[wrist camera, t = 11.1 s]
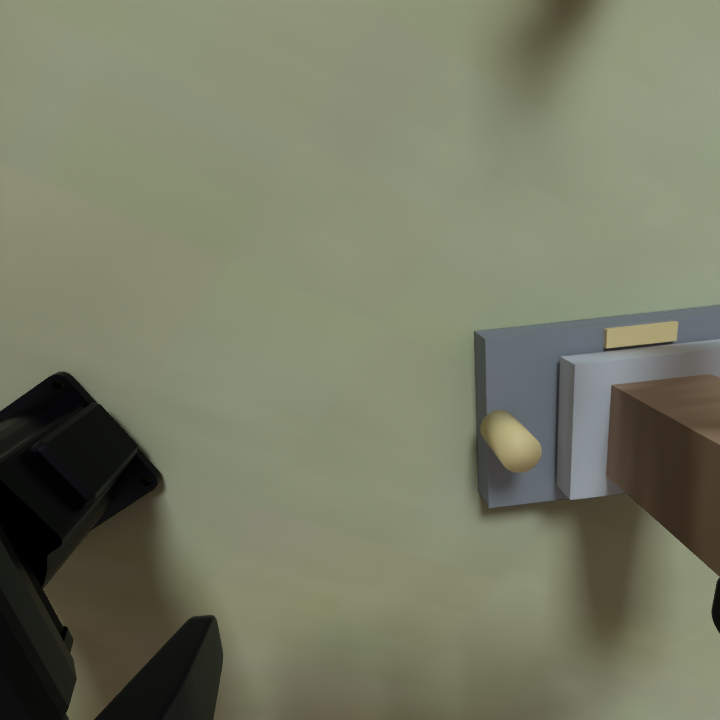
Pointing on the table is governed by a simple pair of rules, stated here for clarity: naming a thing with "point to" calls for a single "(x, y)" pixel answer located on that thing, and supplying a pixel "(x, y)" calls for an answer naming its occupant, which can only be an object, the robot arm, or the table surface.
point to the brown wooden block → (647, 435)
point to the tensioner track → (551, 391)
